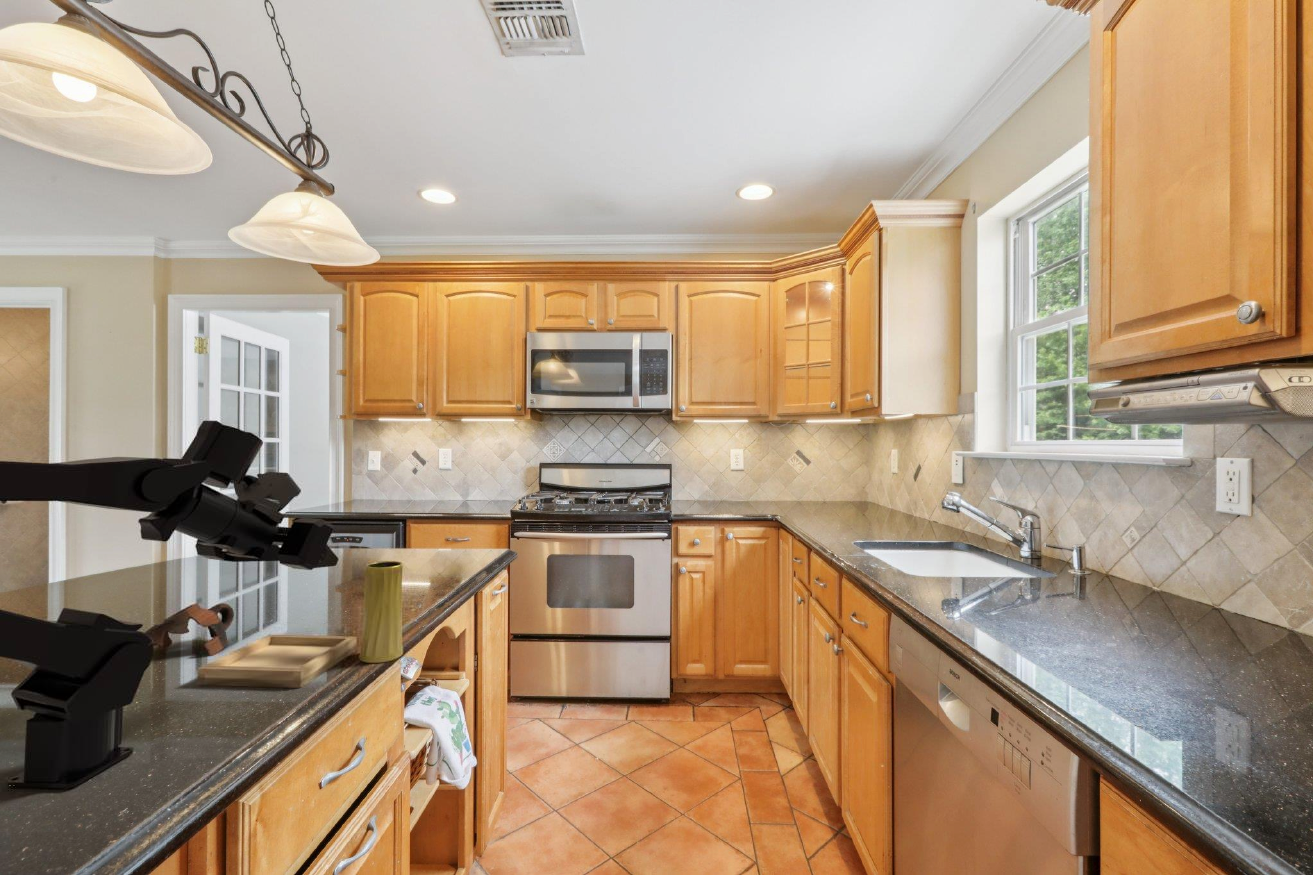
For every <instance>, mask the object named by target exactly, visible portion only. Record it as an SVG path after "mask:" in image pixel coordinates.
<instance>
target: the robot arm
mask: <svg viewBox="0 0 1313 875" xmlns="http://www.w3.org/2000/svg"><path fill="white" fill-rule="evenodd" d="M263 444H264V442H263V440H262V439H261V438H260V437H259V436H257V435H256V434H254V433H252V432H250V431H245V430H242V429H239V428H236V427H235V426H234V427H233V426H231V425H226V424H223V423H221V422H219V421H218V420H203V421H202V422H201V424H200V425H199V427H198V428H197V431H196V435H195V436H194V438H193V439H192V441H191V443H190V444H189V446H188V447H187V449H186V450H185V452H184V454H183V456H181V458H167V457H166V458H165V457H164V458H159V457H157V458H156V457H154V458H153V457H134V456H132V457H131V456H112V457H99V458H89V459H87V458H86V459H78V460H71V461H64V462H63V461H62V462H50V463H49V462H48V463H47V462H28V461H9V460H8V461H7V460H3V461H2V460H0V502H61V503H66V504H72V505H79V506H85V507H86V506H87V507H93V508H101V509H107V510H108V509H109V510H116V511H117V510H119V511H128V512H129V511H130V512H144V513H149V514H148V515H147V516H144V517H141V518H139V519H138V523H139V525H140V538H141V539H142V540H145V541H154V542H163V543H164V542H165V543H166V542H168V541H169V540H170V538H171V537H172V536H173V533H174V532H175V531H176V532H179V533H181V534H183V535H185V536H188V537H190V538H191V537H192V538H194V539H197V540H196V544H195V545H194V546H195V551H196V552H197V553H196V554H197V556H200V557H203V558H206V559H209V560H215V561H222V562H223V561H224V562H232V563H241V562H242V563H243V562H244V563H247V562H248V563H249V562H252V563H253V562H279V564H280V565H283V566H285V567H289V568H292V569H295V570H296V569H297V570H305V571H312V570H313V569H321V568H329V567H330V568H331V567H336V566H337V565H338V562H339V557H338V556H337V554H335V552H334V551H333V550H332V549H331V547H330V546H329V545H328V542H329V540H330V538H331V536H332V533H333V531H334V525H333V524H331V523H330V522H328V521H326V520H324V519H321V518H311V517H310V518H309V517H300V518H298V519H297V520H294V521H293V522H292V523H291V526H290V527H288V526H287V527H286V526H278V525H281V524H282V522H283V520H284V519H285V518H286V514H284V513H282V512H281V511H283V510H284V508H286V507H287V506H288V505H289V504H290V503H291V502H292V500H293V499H294V498H297V497H298V496H299V495H300V494H301V491H302V489H301V488H300V487H299V485H298V484H297V483H296V482H295V481H294V479H293V478H292V477H291V475H290V474H289V473H288V472H279V471H267V472H264V473H258V474H256V476H257V477H256V476H255V475H251V474H247V473H248V471H249V470H250V467H251V466H252V464H253V462H254V460H255V459H256V458H257V455H258V454H259V453H260V452H259V451H260V450H261V448H262V446H263ZM230 484H233V489H234V492H235V495H236V496H237V499H235V498H232V497H230V496H228V495H226V494H224V493H222V492H220V491H218V490H216V489H214V488H211V487H215V488H218V489H219V488H220V489H228V488H229V486H230ZM209 486H211V487H209ZM143 625H144V624H143V623H139V622H132V621H126V620H118V619H117V618H116V619H115V618H113V617H111V616H109V615H106V614H105V613H99V612H94V611H88V610H81V609H75V608H68V607H63V608H62V609H61V612H60V614H59V616H58V618H57V620H45V619H40V618H35V617H32V616H27V615H23V614H20V613H16V612H12V611H7V610H3V609H0V658H6V659H9V660H12V661H14V662H16V663H18V664H20V665H21V666H24V667H26V668H28V669H30V670H32V671H31V672H30V673H29V674H28V675H27V676H26V677H25V678H24V679H23V680H21V682H20V683H19V684H18V685H16V687H15V688H14V689H13V690H12V691H11V693H10V695H11V697H12V699H13V701H14V704H15V705H16V707H17V709H18V710H20V711H29V712H34V714H33V717H31V718H28V719H27V720H26V722H25V742H24V744H25V745H24V760H23V761H24V763H23V765H24V766H23V768H24V769H23V771H22V772H20V773H19V774H17V775H15V776H13V777H10V778H9V779H7V781H6V787H9V785H11V786H13V785H14V786H23V787H22V788H42V789H43V788H48V789H50V788H51V789H70V788H74V787H76V786H79V785H80V784H83V783H84V782H86V781H87V780H90V779H91V778H93V777H94V776H96V775H98V774H100V773H102V772H103V771H105V770H106V769H108V768H110V767H112V766H113V765H115V764H117V763H118V762H120V761H122V760H124V759H125V758H127V757H129V756H130V755H132V754H133V753H134V749H135V748H134V747H132V746H129V747H128V746H127V747H126V746H121V745H122V739H123V738H122V736H123V715H124V714H123V712H124V708H123V707H126V706H128V705H129V706H130V705H131V704H132V703H133V701H134V699H135V696H136V693H137V691H138V688H139V686H140V684H141V681H142V679H143V676H144V674H145V672H146V670H147V669H148V668H149V667H150V665H151V663H152V660H153V658H154V650H155V648H154V647H155V646H153V643H152V642H153V639H152V638H151V637H150V636H149V635H147V634H145V632H143V631H140V629H141V628H143Z"/></svg>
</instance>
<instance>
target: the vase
mask: <svg viewBox="0 0 1313 875" xmlns="http://www.w3.org/2000/svg"><path fill="white" fill-rule="evenodd" d="M403 566H404V565H403V562H402V561H397V560H396V561H395V560H384V561H383V560H382V561H375V562H370V563H366V565H365V568H364V569H365V572H364V597H363V611H362V612H363V613H362V625H361V637H360V638H361V639H360V651H359V657H358V658H359V660H360V661H361V662H363V663H366V664H367V663H368V664H379V663H381V664H382V663H386V662H391V661H394V660H397V659H399V658H400V657H401V656H402V655H403V654H404V650H403V617H402V616H403V614H402V613H403V612H402V609H403V597H402V595H403V594H402V593H403V592H402V591H403Z"/></svg>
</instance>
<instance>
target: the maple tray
mask: <svg viewBox="0 0 1313 875" xmlns="http://www.w3.org/2000/svg"><path fill="white" fill-rule="evenodd" d="M357 638H358V637H357V636H345V635H344V636H343V635H342V636H341V635H340V636H339V635H337V636H336V635H333V636H332V635H306V634H301V635H299V634H272V633H271V634H267V635H265V636H263V637H261V638H259V639H257V640H253V641H252V642H251V643H248V644H246V645H244V646H242V647H240V648H237V649H236V650H233V651H231V652H229V653H227V654H225V655H223V656H221V657H219V658H217V659H214V660H213V661H211V662H208V663H206V664H205V665H202V666H200V667H198V668H197V679H196V680H197V681H196V682H197V683H196V685H197V686H219V687H220V686H223V687H254V688H255V687H256V688H257V687H258V688H259V687H261V688H265V687H267V688H295V689H296V688H298V689H300V688H302V687H305V686H306V685H308V684H309V683H310V682H311V681H313V680H314V679H316V678H318V677H319V676H321V675H322V674H323V673H325V672H327V671H329V669H331V668H333V667H334V666H335V665H338V663H340V662H341V661H344V659H346V658H348V657H349V656H351V655H352V654H354V653H355V652H356V651H357V642H358V641H357Z"/></svg>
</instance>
